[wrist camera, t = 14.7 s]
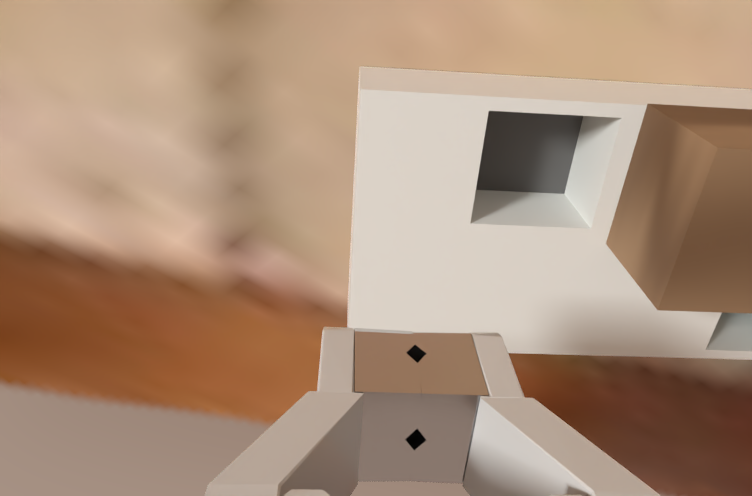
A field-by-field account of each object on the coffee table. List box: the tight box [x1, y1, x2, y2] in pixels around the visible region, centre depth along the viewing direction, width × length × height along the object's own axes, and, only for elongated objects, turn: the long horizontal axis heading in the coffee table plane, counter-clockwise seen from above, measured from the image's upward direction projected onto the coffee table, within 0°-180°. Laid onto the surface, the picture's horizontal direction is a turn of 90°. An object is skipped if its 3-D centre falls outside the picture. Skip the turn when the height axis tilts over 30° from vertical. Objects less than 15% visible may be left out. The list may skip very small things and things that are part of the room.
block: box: [606, 104, 752, 313], centre depth 14 cm, size 4×4×3 cm
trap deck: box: [347, 66, 752, 360], centre depth 18 cm, size 8×18×2 cm, turn 86°
